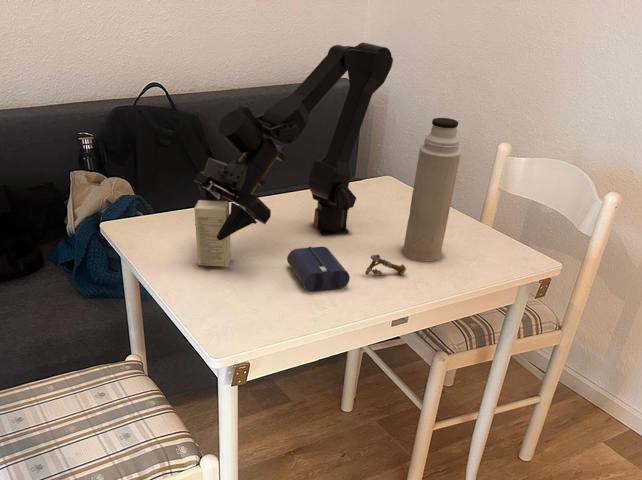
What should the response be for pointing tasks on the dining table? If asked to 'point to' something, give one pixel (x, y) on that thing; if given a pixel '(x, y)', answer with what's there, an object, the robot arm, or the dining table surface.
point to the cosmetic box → (212, 233)
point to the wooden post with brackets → (386, 263)
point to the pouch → (318, 269)
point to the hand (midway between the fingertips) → (207, 232)
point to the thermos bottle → (433, 191)
